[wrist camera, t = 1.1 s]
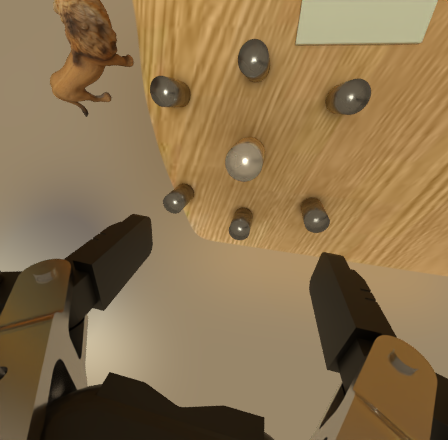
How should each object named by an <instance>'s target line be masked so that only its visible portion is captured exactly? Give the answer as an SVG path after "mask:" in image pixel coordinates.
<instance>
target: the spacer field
mask: <svg viewBox="0 0 448 440" xmlns="http://www.w3.org/2000/svg"><path fill="white" fill-rule="evenodd" d="M238 65H239V68H240V70H241V72H242V73H243V74H244V75H245V76H246V77H247V78H248V79H249V80H250V81H252V82H260V81H262V80H263V79H265V77H266V76H267V75H268V73H269V70H270V60H269V53H268V49H267V47H266V45H265V44H264V43H263V42H262V41H261V40H258V39H251V40H249V41H247V42H246V43H245V44H244V45H243V46H242V48H241V49H240V52H239V55H238ZM150 93H151V96H152V99H153V100H154V102H155V103H156V104H158V105H159V106H162V107H184V106H186V105H187V104H188V103H189V100H190V90H189V87H188V86H187V85H186V84H185V83H184V82H182V81H179V80H175V79H172V78H168V77H165V76H157V77H155V78H154V79H153V81H152V82H151V86H150ZM370 96H371V88H370V85H369V84H368V82H366V81H365V80H363V79H353V80H350V81H348V82H345V83H342V84H339V85H337V86H335V87H334V88H332V89H331V90H330V92H329V93H328V95H327V97H326V107H327V109H328V110H329V111H330V112H332V113H336V114H346V115H351V114H355V113H357V112H359V111H361V110H362V109H363V108H364V107H365V106H366V105H367V103H368V101H369V99H370ZM193 197H194V190H193V188H192V187H191V186H190V185H188V184H181V185H179V186H178V187H177V188H175V189H174V190H173V191H172V192H171V193H169V194H168V195H167V196H165V198H164V200H163V204H164V207H165V208H166V210H167V211H169V212H171V213H179V212H180V211H181V210H182V209H183V208H184V207H185V206H186V205H187V204H188V203H189V201H190V200H191V199H192V198H193ZM301 212H302V216H303V220H304V224H305V227H306V229H307V230H308V231H310V232H313V233H319V232H322V231H324V230H326V229H327V228H328V226H329V223H330V220H329V218H328V215H327V213H326V211H325V209H324V207H323V205H322V203H321V201H320V200H319V199H317V198H308V199H306V200H304V201H303V202H302V204H301ZM252 218H253V215H252V212H251V211H250V210H249V209H247V208H239V209H238V210H237V211H236V212H235V214H234V217H233V219H232V222H231V225H230V227H229V234H230V235H231V237H232V238H234V239H236V240H244V239H246V238H247V237H248V236H249V232H250V227H251V223H252Z"/></svg>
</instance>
